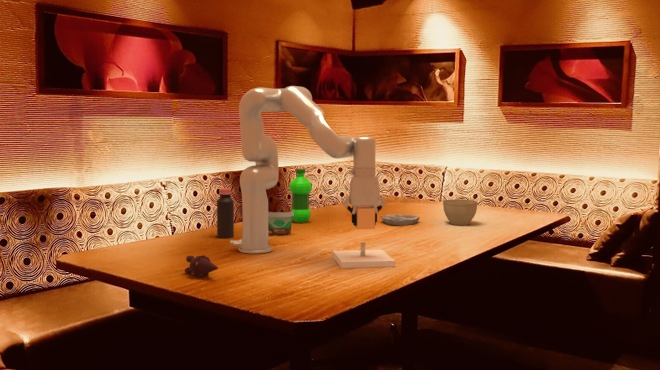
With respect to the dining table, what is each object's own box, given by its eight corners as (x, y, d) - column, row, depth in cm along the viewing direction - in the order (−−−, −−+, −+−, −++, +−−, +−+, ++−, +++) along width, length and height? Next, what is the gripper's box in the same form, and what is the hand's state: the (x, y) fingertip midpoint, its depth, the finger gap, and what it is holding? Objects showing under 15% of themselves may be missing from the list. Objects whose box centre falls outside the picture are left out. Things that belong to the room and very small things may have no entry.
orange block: (357, 229, 217) (357, 208, 216) (354, 226, 223) (354, 206, 222) (374, 228, 218) (374, 208, 217) (370, 225, 224) (371, 205, 223)
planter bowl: (474, 221, 309) (475, 199, 308) (479, 227, 293) (479, 203, 292) (441, 220, 310) (441, 198, 309) (443, 226, 294) (444, 203, 293)
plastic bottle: (311, 223, 297) (311, 170, 295) (288, 223, 298) (288, 170, 295) (312, 220, 307) (312, 168, 305) (290, 220, 308) (290, 168, 305)
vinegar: (230, 238, 260) (230, 190, 257) (214, 238, 261) (214, 189, 259) (236, 235, 266) (235, 188, 264) (220, 235, 268) (220, 187, 265)
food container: (267, 237, 265) (267, 213, 264) (265, 234, 271) (265, 210, 269) (296, 235, 268) (296, 212, 267) (293, 233, 274) (293, 210, 273)
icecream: (228, 257, 197) (196, 254, 207) (209, 255, 192) (178, 252, 201) (225, 280, 196) (194, 276, 206) (206, 278, 191) (175, 274, 200)
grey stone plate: (395, 219, 316) (395, 213, 316) (424, 223, 305) (425, 216, 305) (371, 224, 301) (372, 217, 301) (402, 228, 290) (402, 221, 290)
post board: (341, 268, 212) (342, 248, 211) (332, 256, 229) (333, 238, 229) (394, 266, 215) (394, 247, 214) (381, 255, 232) (382, 237, 232)
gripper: (341, 174, 214) (341, 227, 215) (391, 173, 216) (391, 225, 218) (337, 172, 221) (337, 224, 223) (386, 171, 224) (386, 222, 226)
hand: (364, 224), depth 220 cm, fingers closed on orange block, 5 cm apart
